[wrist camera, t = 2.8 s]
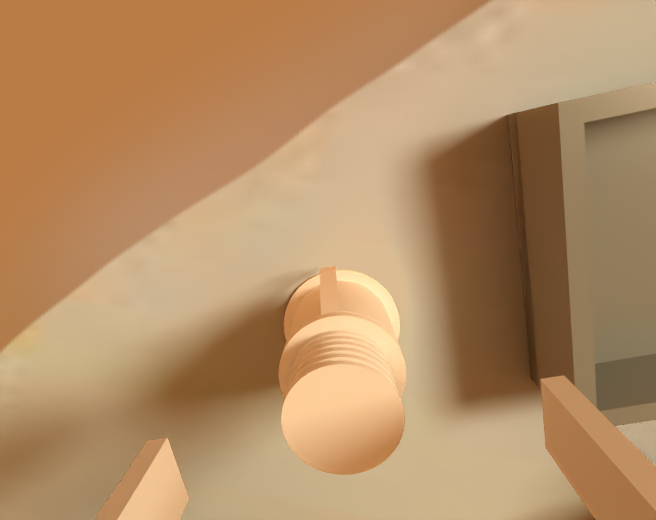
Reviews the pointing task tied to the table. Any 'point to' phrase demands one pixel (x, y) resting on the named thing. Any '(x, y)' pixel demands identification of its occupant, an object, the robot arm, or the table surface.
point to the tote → (591, 245)
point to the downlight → (342, 373)
